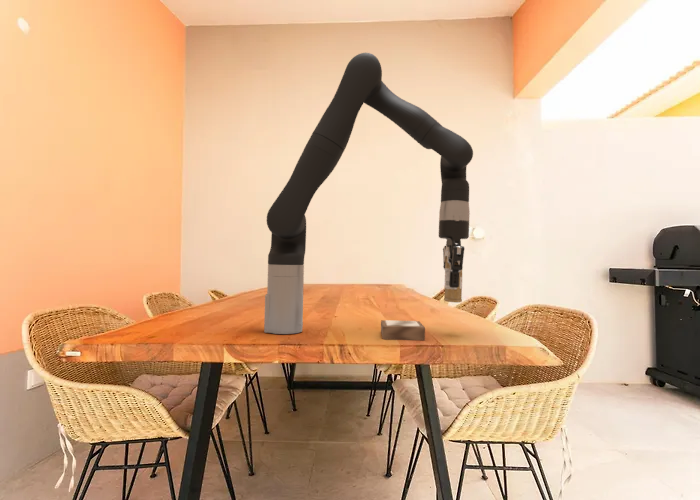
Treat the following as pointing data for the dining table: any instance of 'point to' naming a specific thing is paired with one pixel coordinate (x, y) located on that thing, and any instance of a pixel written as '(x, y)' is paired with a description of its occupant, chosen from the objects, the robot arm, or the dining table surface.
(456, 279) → the robot arm
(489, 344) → the dining table surface
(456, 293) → the sprinkles bottle
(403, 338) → the walnut plinth
